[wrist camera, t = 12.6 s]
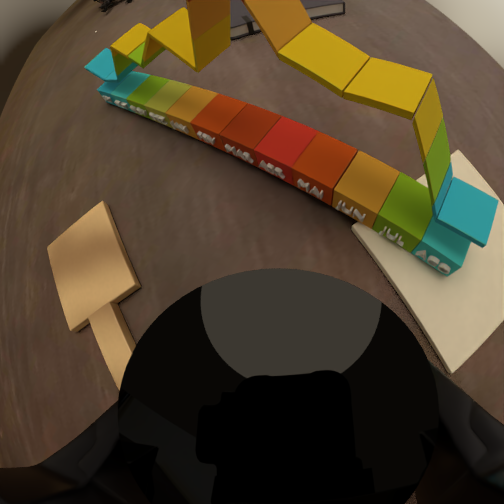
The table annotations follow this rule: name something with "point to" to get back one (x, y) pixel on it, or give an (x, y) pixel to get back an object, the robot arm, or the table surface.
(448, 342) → the napkin
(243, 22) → the notebook
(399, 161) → the table surface
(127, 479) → the robot arm
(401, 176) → the chart
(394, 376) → the supplement container
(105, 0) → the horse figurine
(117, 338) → the spatula
